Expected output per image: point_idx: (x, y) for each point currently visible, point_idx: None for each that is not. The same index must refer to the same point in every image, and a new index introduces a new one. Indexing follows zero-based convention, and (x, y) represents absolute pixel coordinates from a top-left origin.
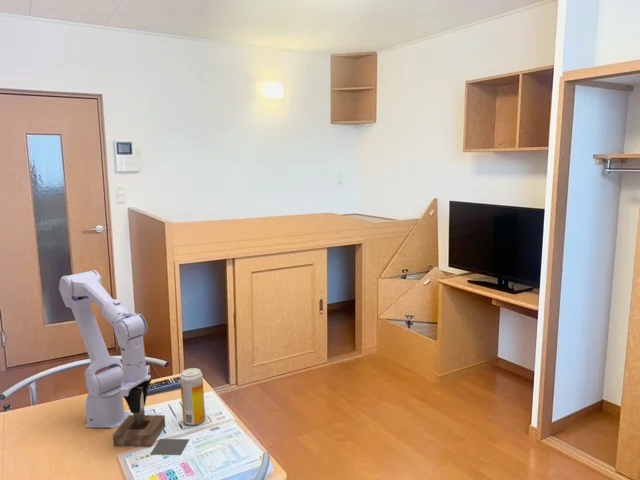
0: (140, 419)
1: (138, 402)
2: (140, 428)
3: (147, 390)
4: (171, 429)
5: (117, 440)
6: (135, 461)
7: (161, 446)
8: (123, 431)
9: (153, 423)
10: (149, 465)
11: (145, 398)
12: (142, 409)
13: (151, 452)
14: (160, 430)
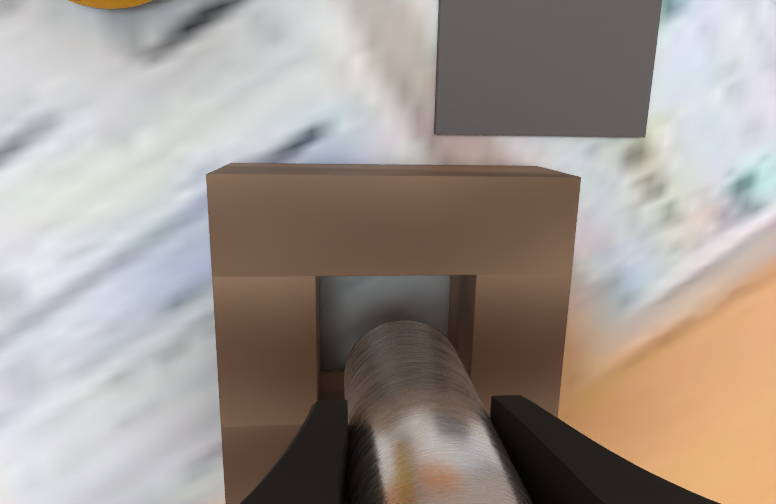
0: (454, 350)
1: (639, 467)
2: (319, 347)
3: (245, 499)
4: (267, 92)
5: None
6: (696, 216)
7: (546, 81)
8: None
9: (372, 228)
10: (757, 93)
11: (329, 437)
12: (449, 379)
13: (619, 134)
14: (342, 166)
